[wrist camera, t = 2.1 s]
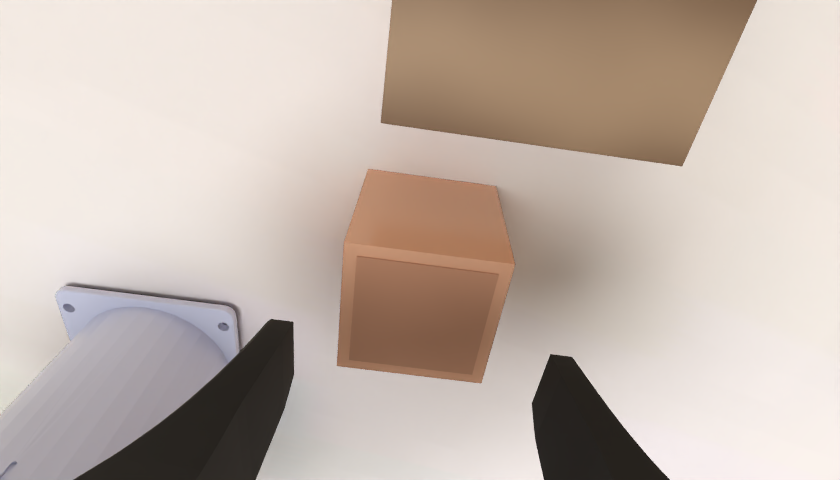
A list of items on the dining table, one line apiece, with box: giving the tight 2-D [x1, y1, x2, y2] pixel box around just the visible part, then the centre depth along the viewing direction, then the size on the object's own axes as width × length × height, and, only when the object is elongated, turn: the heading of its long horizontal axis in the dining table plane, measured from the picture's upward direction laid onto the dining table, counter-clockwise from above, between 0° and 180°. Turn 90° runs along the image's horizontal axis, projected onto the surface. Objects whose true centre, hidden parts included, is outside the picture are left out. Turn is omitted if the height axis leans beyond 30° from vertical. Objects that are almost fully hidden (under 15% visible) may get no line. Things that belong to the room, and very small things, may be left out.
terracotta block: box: [337, 169, 515, 383], centre depth 17 cm, size 5×5×6 cm
